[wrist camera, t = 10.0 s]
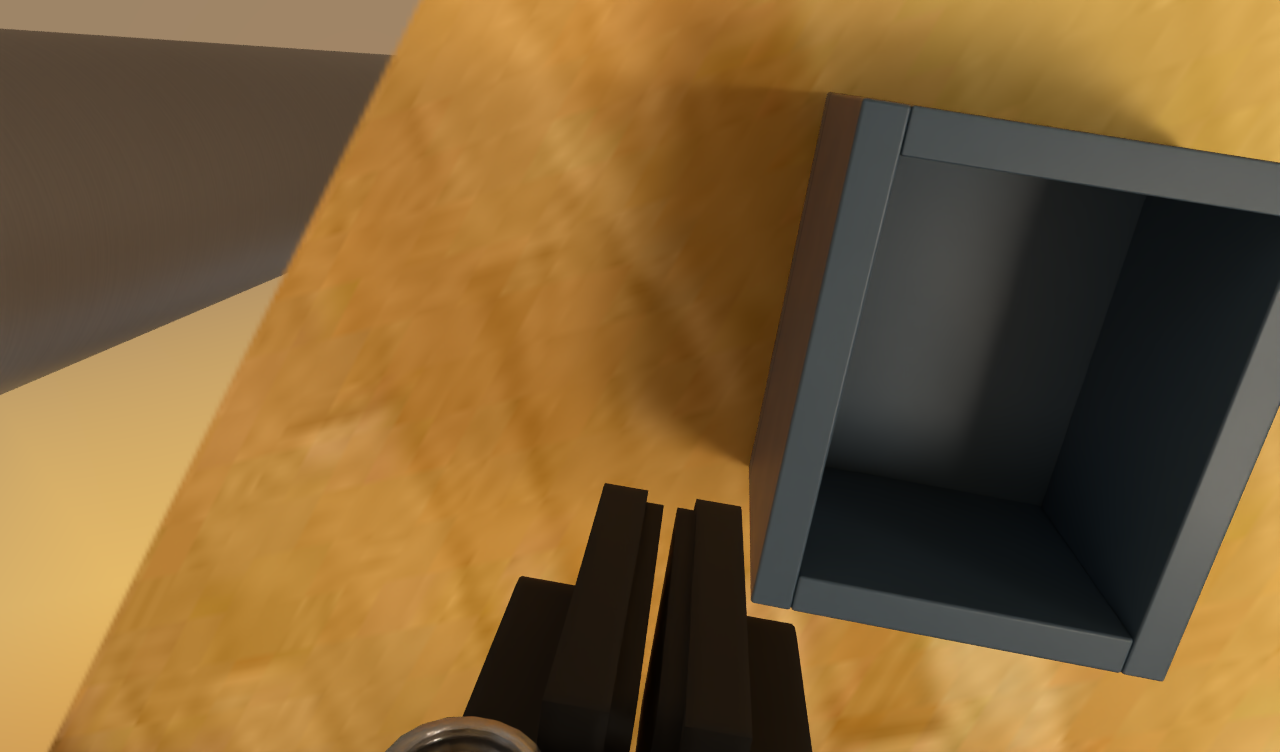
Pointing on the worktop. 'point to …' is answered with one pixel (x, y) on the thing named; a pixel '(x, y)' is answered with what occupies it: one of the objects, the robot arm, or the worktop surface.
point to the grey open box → (1015, 383)
